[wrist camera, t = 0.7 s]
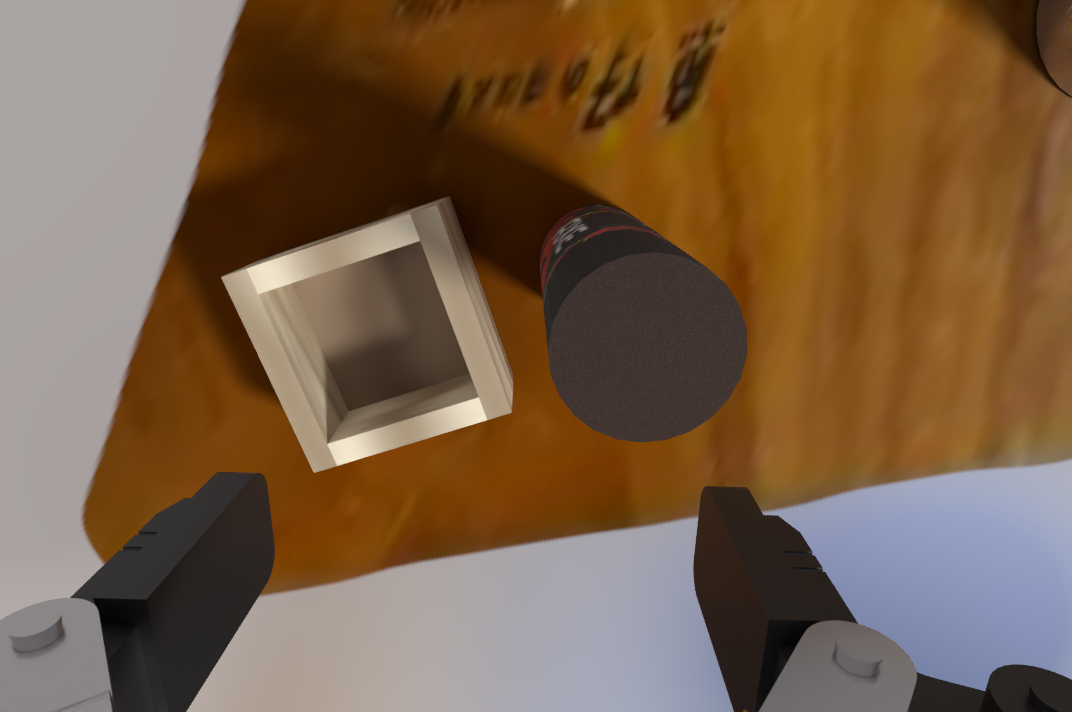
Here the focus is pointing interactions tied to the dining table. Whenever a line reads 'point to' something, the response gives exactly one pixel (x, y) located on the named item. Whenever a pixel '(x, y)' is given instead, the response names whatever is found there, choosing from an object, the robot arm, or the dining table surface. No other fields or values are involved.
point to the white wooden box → (376, 335)
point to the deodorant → (636, 327)
